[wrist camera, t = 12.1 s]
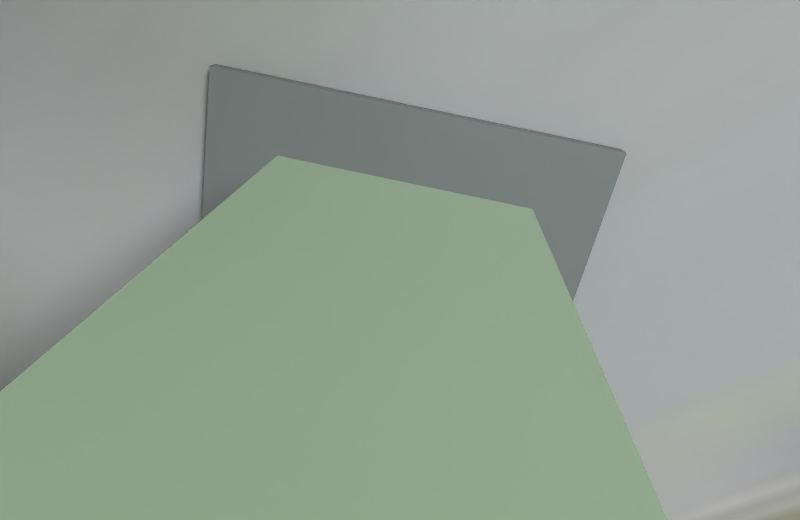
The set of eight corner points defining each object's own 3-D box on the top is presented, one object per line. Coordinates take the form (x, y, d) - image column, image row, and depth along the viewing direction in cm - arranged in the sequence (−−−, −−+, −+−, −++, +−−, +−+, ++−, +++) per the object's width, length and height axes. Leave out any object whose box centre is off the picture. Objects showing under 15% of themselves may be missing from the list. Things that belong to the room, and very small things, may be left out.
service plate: (216, 64, 19) (209, 65, 18) (621, 149, 19) (626, 153, 18) (189, 552, 28) (183, 563, 28) (457, 606, 29) (458, 618, 28)
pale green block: (277, 155, 13) (-326, 668, 3) (532, 208, 13) (833, 900, 3) (250, 423, 16) (-72, 1098, 6) (453, 465, 16) (463, 1204, 6)
